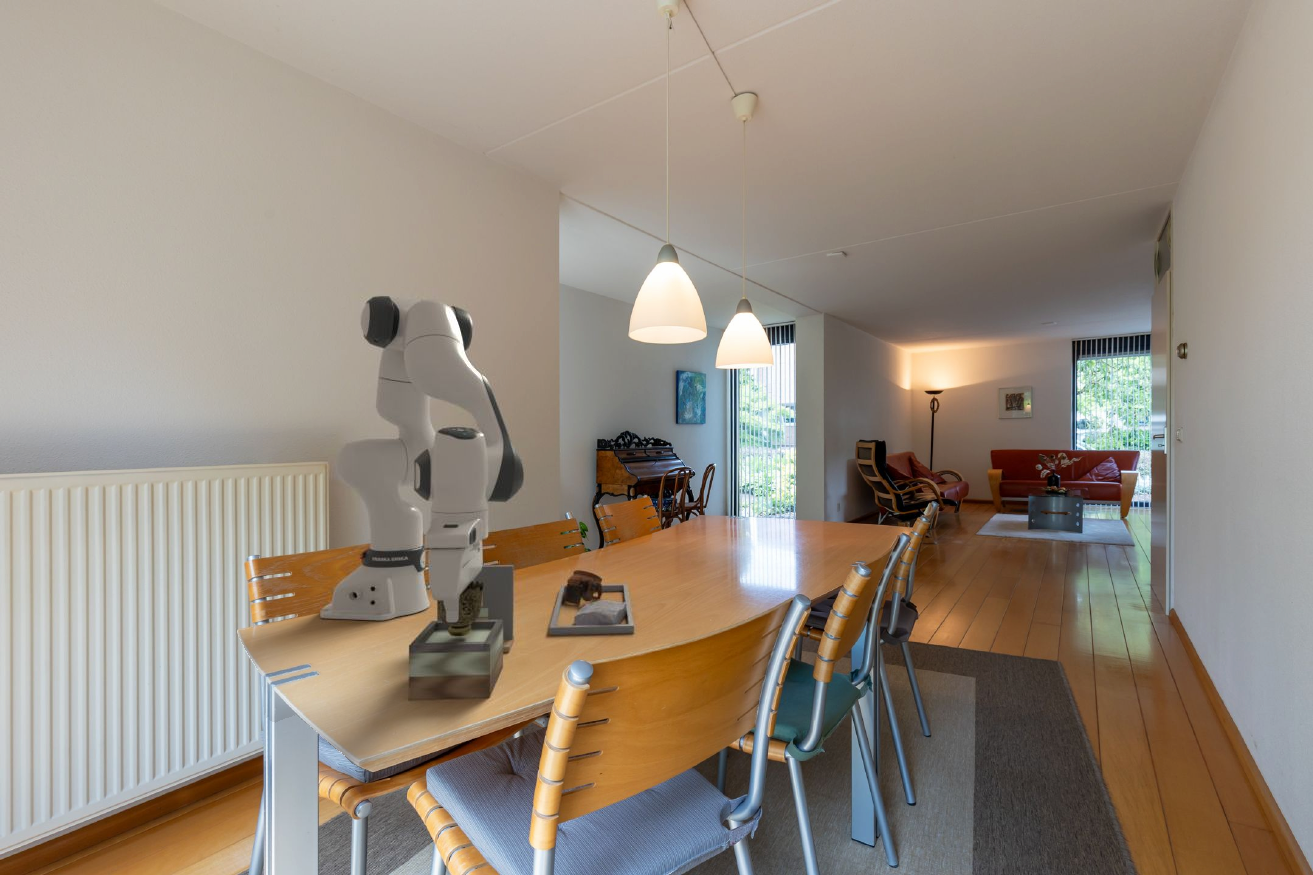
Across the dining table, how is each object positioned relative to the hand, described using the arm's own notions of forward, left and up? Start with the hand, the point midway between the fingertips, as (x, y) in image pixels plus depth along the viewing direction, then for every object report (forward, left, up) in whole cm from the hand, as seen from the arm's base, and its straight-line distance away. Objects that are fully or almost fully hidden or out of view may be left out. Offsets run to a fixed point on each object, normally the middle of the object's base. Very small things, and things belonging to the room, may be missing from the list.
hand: (459, 613), depth 96 cm
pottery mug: (+19, +47, -12) cm, 52 cm away
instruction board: (-1, +16, -11) cm, 19 cm away
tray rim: (+21, +39, -11) cm, 46 cm away
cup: (0, 0, -4) cm, 4 cm away
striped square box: (0, 0, -11) cm, 11 cm away
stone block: (+23, +30, -12) cm, 39 cm away
